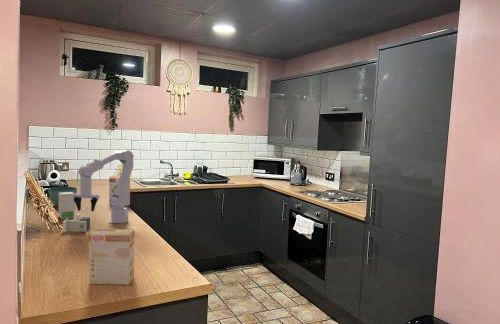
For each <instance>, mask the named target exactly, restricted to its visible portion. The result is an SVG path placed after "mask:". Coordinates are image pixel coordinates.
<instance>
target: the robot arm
mask: <svg viewBox="0 0 500 324" xmlns="http://www.w3.org/2000/svg"><path fill="white" fill-rule="evenodd" d="M116 160H118V161H120V162H121V164H122V166H123V167H122V171H121V174H120V176H119V177H120V179H119V182H118V186H117V189H116V191H115V192H114V193H113V194H112V196H111V197H110V199H109V198H108V203H110V209H111V210H110V217H111V218H110V219H111V220H110V221H108V223H109V224H126V223H127V222H129V209H128V207H124V206H125V205H126V194H125V191H126V188H127V185H128V182H129V178H130V179H131V174H132V173H133V172H132V171H133V168H134V153H133V152H132V151H131V150H125V149H118V150H115V151H113V153H110V154H108V155H107V156H105V157H104V158H102V159H98V158H96V159H93V161H91V162H89V163H88V162H87V163H86V165H82V166H80V167H79V169H78V170H77V173H78V174H79V176H80V177H79V179H80V181H79V182H80V185H79V186H80V187H79V188H80V189H79V190H80V193H76V194H73V195H72V198H74V199H73V200H74V202H75V207H76V209H77V212H80V211H81V210H82V199H90V204H91V205H90V207H91V208H90V210H91V212H94V211H95V208H96V205H97V202H98V201H99V199H100V194H95V193H94V194H93V193H92V176H93V175H94V174H95V173H96V172H98V171H100V170H102V169H103V168H104V166H105V165H107V164H109V163H111V162H113V161H116Z"/></svg>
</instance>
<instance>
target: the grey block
mask: <svg viewBox="0 0 500 324" xmlns="http://www.w3.org/2000/svg"><path fill="white" fill-rule="evenodd" d="M79 221H86V231H87V230H88V229H90V228H91V217H90V216H84V217H80V219H79Z"/></svg>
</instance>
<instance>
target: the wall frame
mask: <svg viewBox="0 0 500 324" xmlns="http://www.w3.org/2000/svg"><path fill="white" fill-rule="evenodd" d="M79 219H81V213H77V214H75V221H79ZM68 220H69V218H66V219H64V220H63V221H62V233H67V232H70V230H68Z"/></svg>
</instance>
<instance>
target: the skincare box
mask: <svg viewBox="0 0 500 324" xmlns="http://www.w3.org/2000/svg"><path fill="white" fill-rule="evenodd" d="M58 194H59V207H58V208H57V209H58V215H59V217H60V218H61V220H65V219H74V218H76V214H75V213H76V211H75V207H76V204H75V202H74V200H73V199H74V198H72V195H73V194H75V193H73V192H63V193H58ZM58 215H57V216H58ZM59 217H58V218H59ZM60 218H59V219H60Z"/></svg>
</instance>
